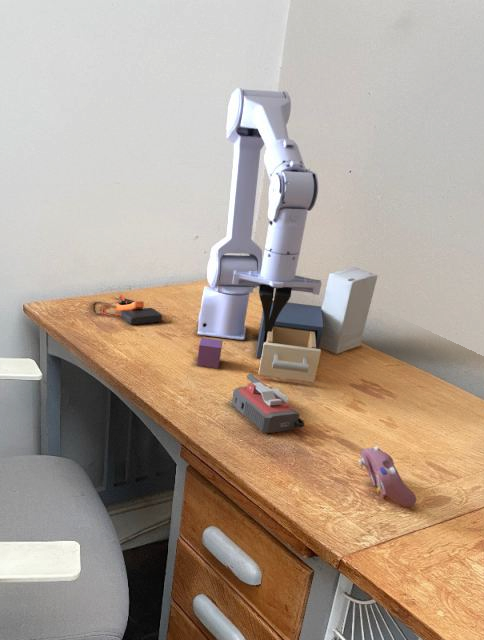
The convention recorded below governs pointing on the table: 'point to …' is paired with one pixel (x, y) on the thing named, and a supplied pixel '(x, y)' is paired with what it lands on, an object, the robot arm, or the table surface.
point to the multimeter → (135, 312)
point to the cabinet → (294, 321)
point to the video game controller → (386, 476)
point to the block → (209, 353)
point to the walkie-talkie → (266, 407)
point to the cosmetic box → (346, 308)
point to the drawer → (290, 354)
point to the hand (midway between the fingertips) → (267, 329)
